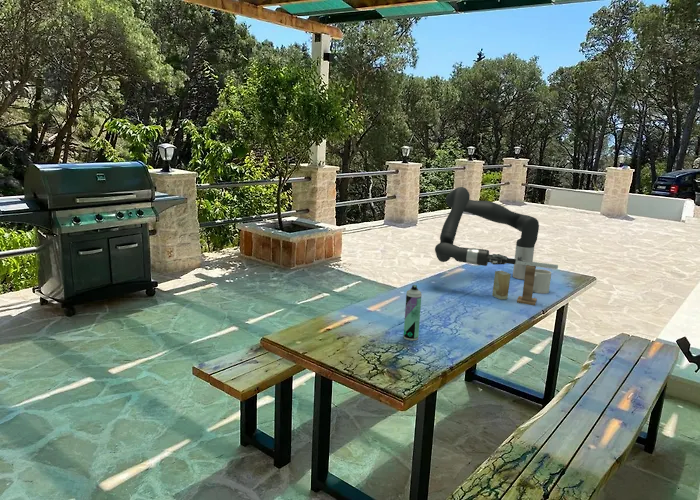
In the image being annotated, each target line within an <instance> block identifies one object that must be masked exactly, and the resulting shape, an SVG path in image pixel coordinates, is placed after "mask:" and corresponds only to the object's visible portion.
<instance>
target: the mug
mask: <svg viewBox="0 0 700 500" xmlns="http://www.w3.org/2000/svg"><path fill="white" fill-rule="evenodd" d="M551 280H552V271H550V270H547V269H541V268H536V270H535V278H534V286H533V293H535V294H549V292H550V285H551Z"/></svg>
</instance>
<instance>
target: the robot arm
mask: <svg viewBox="0 0 700 500" xmlns="http://www.w3.org/2000/svg"><path fill="white" fill-rule="evenodd" d="M445 203H446V205H447V206H448V207H449V208H451V209H450V212H449V213H448V216H447V217H446V219H445V221H444V223H443V225H442V229H441V232H440V235H439V240H440V241H439V243H437V244H436V245H435V248H434V252H435V255H436V258H437V260H438V261H439V262H441V263H446V262H448V261H450V259H451V258H452V259H453V260H454V261H456V262H459V263H466V264H470V265H475V266H476V265H477V266H483V267H487V266H488V264H489V263H491V264H492V265H496V266H497V265H506V264H508V265H510V264H511V265H513V270H512V271H513V272H512V278H514V279H518V280H524V278H525V270H526V265H522V264H515V263H516V260H517V259H518V257H522V260H523V261H531V262H534V252H535V246H536V245H535V244H536V243H537V241H538V236H539V230H540V229H539V228H540V223H539V219H537V218H536V217H534V216H530V215H528V214H523V213H522V214H521V213H518V212H515V211H512V210H510V209H508V208H507V207H505V206H503V205H501V204H498V203H496V202H493V201H489V200H473V199H470V192H469V190H468V189H467V188H465V187H463V186H459V187H456V188H454V189H453V190H452V191H451V192H449V193H447V195H446V196H445ZM464 213H468V214H471V215H474V216H477V217H479V218H483V219H485V220H487V221H490V222H494V223H497V224H502V225H507V226H509V227H511V228H514V229H515V230H517V231H519V232H520V233H521V235H520V238H519V239H516V243H515V253H514V258H511V257H508V256H506V255H503V254H500V253H498V254H496V253H492V254H490V250H489V249H483V248H476V247H475V248H474V247H465V246H464V247H462V246H461V247H460V246H458V245H455V244H454V241H455V238H456V234H457V232H458V227H459V225H460V221H461V219H462V217H463V214H464Z"/></svg>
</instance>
